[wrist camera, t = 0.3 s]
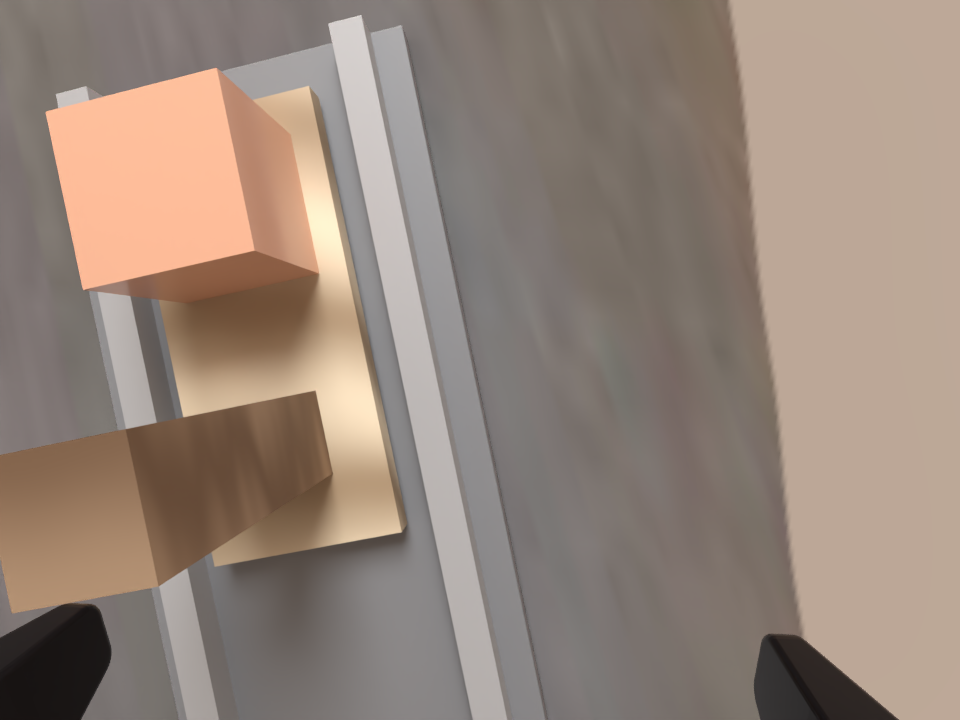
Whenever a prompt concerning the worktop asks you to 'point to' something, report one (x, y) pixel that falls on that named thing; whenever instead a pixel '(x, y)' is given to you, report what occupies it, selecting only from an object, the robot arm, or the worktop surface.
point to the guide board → (415, 445)
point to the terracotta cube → (181, 191)
